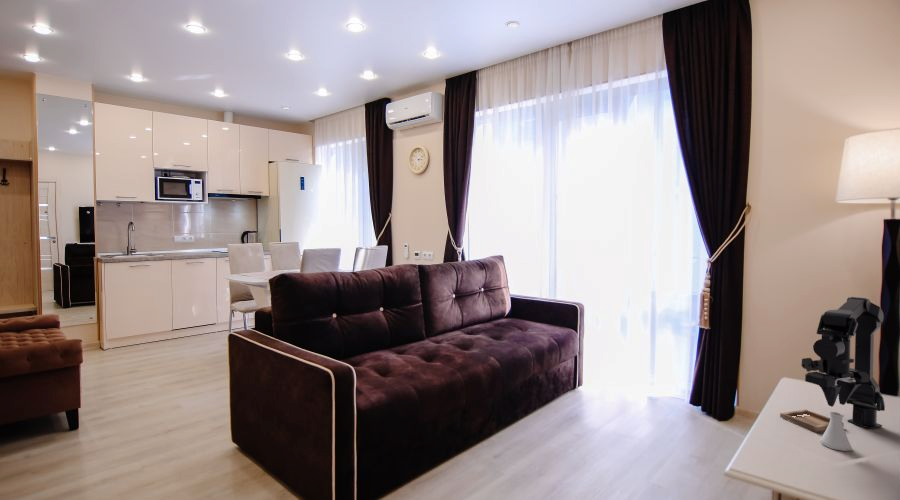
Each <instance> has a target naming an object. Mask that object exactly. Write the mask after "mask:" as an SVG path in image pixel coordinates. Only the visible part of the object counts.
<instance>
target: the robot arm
mask: <svg viewBox="0 0 900 500" xmlns="http://www.w3.org/2000/svg"><path fill="white" fill-rule="evenodd" d="M884 317H885V315H884V312H883V310H882V308H881V307H880V306H879V305H877V304H875V303H873V302H871V301H870V299H869V298H866V297H858V296H857V297H856V296H850V297H847V299H846V302H845V303H843V304H842V305H841V306H840V307H839V308H838V309H829V310H826V311H825V312H823V314H821V316H820V319H819V323H818V326H817V330H816V335H821V338H819V339H817V340H816V341H815V342H814V344H813V345H812V346H813V347H812V348H813V349H812V350H813V351H814V354H815V355H816V356H818V357H819V359H816V360H815V359H814V360H813V359H812V358H811V357H806V358H802V359H801V367H802V368H803V369H804V370H806V373H805V374H804V382H807V383H810V384H813V385H816V386H818V387H820V388H821V390H822V392H823V395H824V398H825V400H826V402H827V405H828V406H829V407H834V406H835V403H836V402H837V401H836V400H837V399H838V402H839V404H840V405H842V406H844V405H845V404H848V405H852V418H851V419H847V422H848V423H852V424H854V425H856V426H860V427H863V428H866V429H868V430H869V429H875V428H882V427H883V425H882V424H880V423H877V417H878V415H877V413H878V412H882V411H885V410H886V405H885V400H884V397H883V395H882V393H881V391H880V385H879V384H878V382H877V381H876V379H875V378H874V347H875V344H874V341H875V333H876V332H877V331H878V330H879V329H881V326H882V323H883V322H884ZM852 337H855V338H854V339H855V341H854V342H855V343H854V344H855V346H854V358H851V339H852ZM852 363H854V368H851V364H852Z"/></svg>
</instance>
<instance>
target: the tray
mask: <svg viewBox="0 0 900 500" xmlns="http://www.w3.org/2000/svg"><path fill="white" fill-rule="evenodd" d="M803 414H807V415H810V416H804V417H802V416H797V415H803ZM792 416H796V417H795V418H794V417H792ZM779 417H780V418H781V417H782V419H783V418H784V419H783V420H786V419H787V421H788V420H789V422H790V421H791V422H790V423H792V422H793V424H795V425H798V426H800V427H802V428H804V429H806V430H807V431H808V430H809V431H811V432H812V433H815V434H822V433H825V431H826V429H827V427H828V425H829V422H830V417H827V416H826V415H822V414H819V413H817V412H813V411H811V410H807V409H800V410H795V411H787V412H781V413H779ZM842 423H843V427H844V422H843V421H842Z"/></svg>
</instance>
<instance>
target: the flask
mask: <svg viewBox="0 0 900 500" xmlns="http://www.w3.org/2000/svg"><path fill="white" fill-rule="evenodd" d="M828 413H829V415H830V416H829V418H830V422H829V425H828V427H827V429H826V431H825V432H823V434H822V436H821V438H820V440H819V441H820V443H821V444H822V445H823V446H824V447H827V448H830V449H831V450H837V451H842V452H847V451H848V452H849V451H853V448H852V445H851V443H850V441H849V439H848V436H847V433H846V430H845V428H844V426H843V423H844V422H843V418H844V417H845V415H844V414H843V413H842V412H838V411H829V412H828ZM842 422H843V423H842Z"/></svg>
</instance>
